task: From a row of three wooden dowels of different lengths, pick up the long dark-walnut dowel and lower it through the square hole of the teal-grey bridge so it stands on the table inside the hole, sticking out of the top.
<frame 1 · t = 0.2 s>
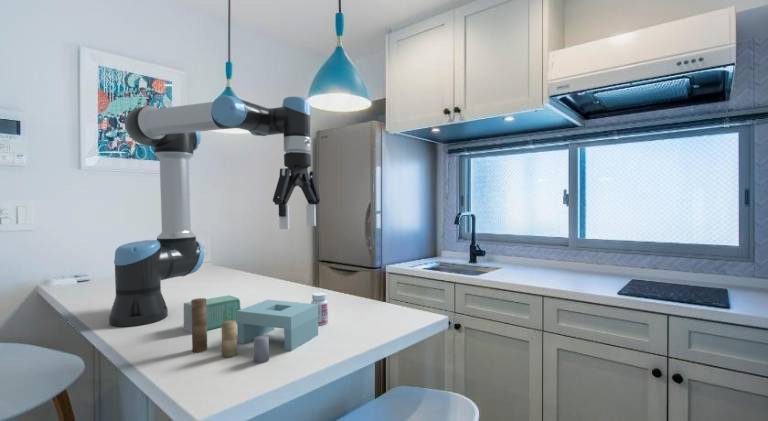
hand: (298, 227, 114), 28 cm above the countertop, fingers open, 13 cm apart
charcoal pin: (261, 360, 88), on the countertop
box: (213, 326, 114), on the countertop
bridge: (279, 338, 102), on the countertop
oak pin: (229, 355, 91), on the countertop
walnut pin: (199, 350, 94), on the countertop
pill bottle: (319, 323, 114), on the countertop
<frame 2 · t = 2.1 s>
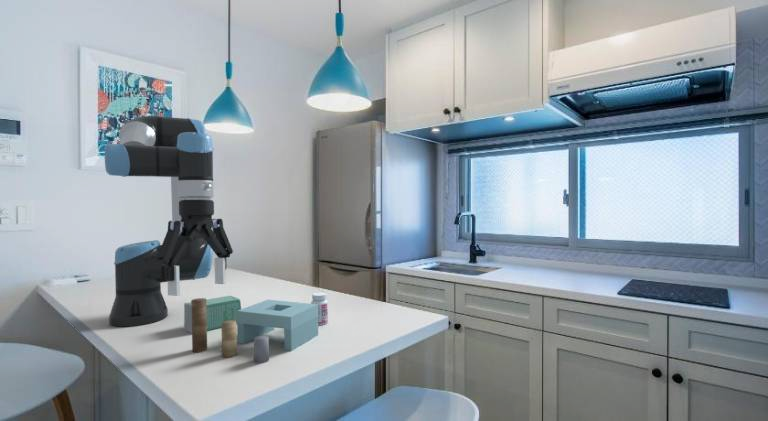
hand: (198, 289, 94), 15 cm above the countertop, fingers open, 13 cm apart
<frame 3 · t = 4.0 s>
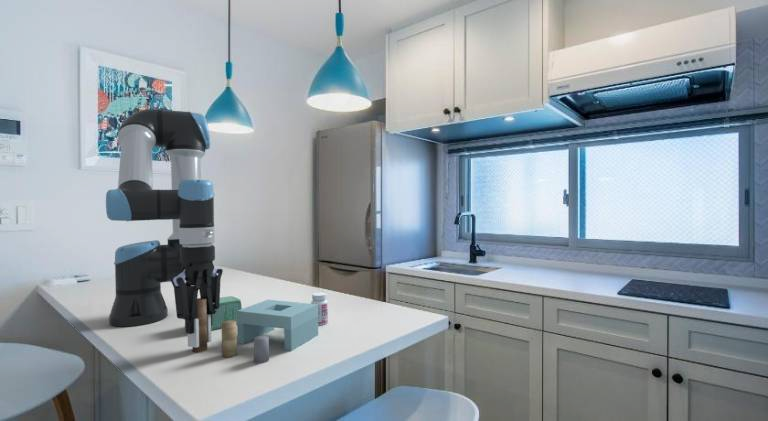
hand: (199, 343, 94), 2 cm above the countertop, fingers closed on walnut pin, 3 cm apart
walnut pin: (200, 349, 94), on the countertop, touching gripper
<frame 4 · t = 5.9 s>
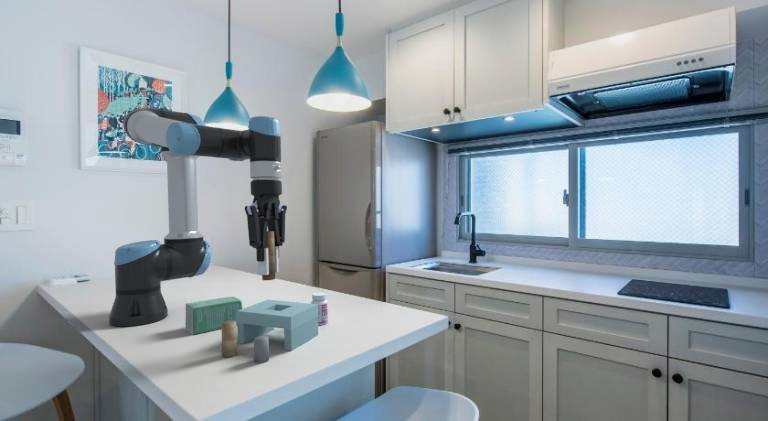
hand: (268, 272, 100), 17 cm above the countertop, fingers closed on walnut pin, 3 cm apart
walnut pin: (268, 279, 100), point 16 cm above the countertop, touching gripper
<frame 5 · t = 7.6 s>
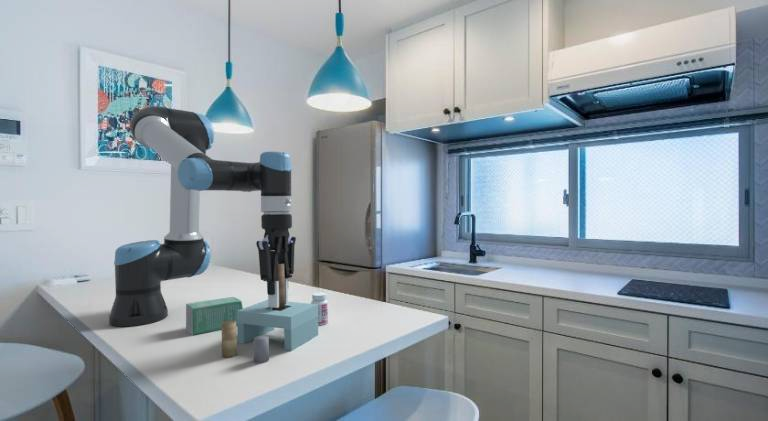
hand: (278, 304, 101), 9 cm above the countertop, fingers closed on walnut pin, 3 cm apart
walnut pin: (278, 311, 101), point 7 cm above the countertop, touching gripper
when the fingers open (9 cm above the countertop, at t = 8.2 s): walnut pin drops 6 cm, on the countertop.
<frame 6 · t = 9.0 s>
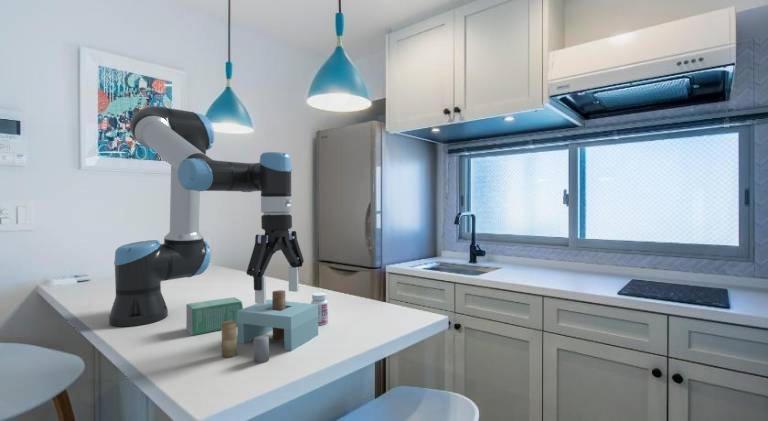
hand: (278, 297, 101), 11 cm above the countertop, fingers open, 13 cm apart
walnut pin: (279, 338, 102), on the countertop
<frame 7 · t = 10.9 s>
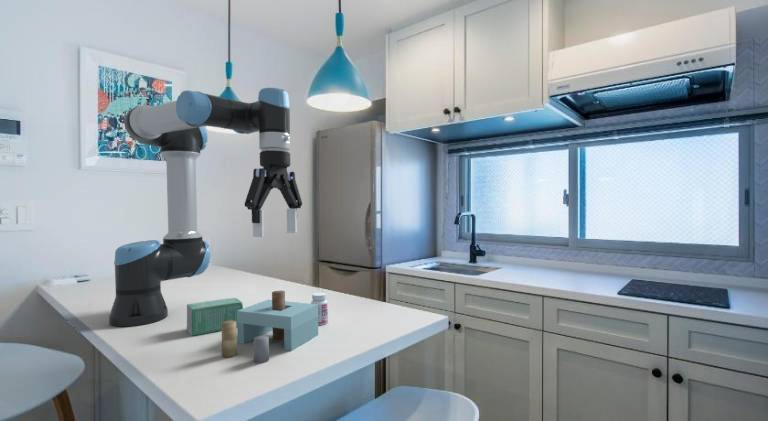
hand: (276, 234, 101), 27 cm above the countertop, fingers open, 13 cm apart
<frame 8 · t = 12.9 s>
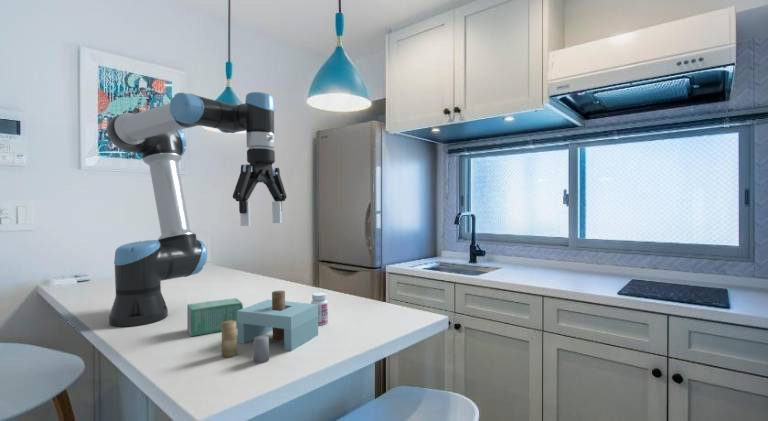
hand: (262, 224, 113), 29 cm above the countertop, fingers open, 13 cm apart
at the end: walnut pin 0.0 cm off-centre on the bridge, point 0.0 cm above the bridge's base; walnut pin tilted 0°; the gripper is holding nothing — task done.
